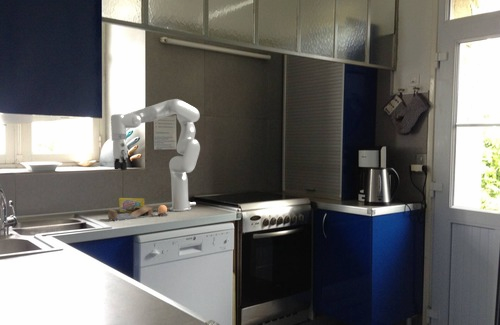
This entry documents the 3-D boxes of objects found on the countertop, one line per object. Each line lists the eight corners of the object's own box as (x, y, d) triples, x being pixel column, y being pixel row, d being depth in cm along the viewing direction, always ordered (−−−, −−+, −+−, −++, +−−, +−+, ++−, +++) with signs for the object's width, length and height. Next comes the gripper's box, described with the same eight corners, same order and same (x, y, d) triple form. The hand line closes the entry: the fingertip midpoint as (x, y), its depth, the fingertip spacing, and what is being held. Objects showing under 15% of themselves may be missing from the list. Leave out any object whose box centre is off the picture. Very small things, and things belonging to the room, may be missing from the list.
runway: (147, 214, 262) (147, 211, 262) (153, 216, 254) (153, 212, 254) (108, 218, 249) (108, 215, 249) (114, 221, 242) (114, 217, 242)
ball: (164, 212, 259) (164, 204, 259) (168, 214, 255) (168, 204, 255) (156, 213, 256) (156, 204, 256) (160, 215, 252) (160, 205, 252)
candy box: (119, 212, 272) (118, 198, 272) (121, 211, 274) (120, 197, 274) (143, 213, 267) (142, 198, 267) (145, 212, 269) (144, 198, 269)
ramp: (146, 214, 262) (146, 205, 261) (153, 216, 254) (153, 206, 254) (108, 218, 249) (108, 209, 249) (114, 221, 242) (113, 211, 241)
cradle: (163, 214, 259) (163, 212, 259) (167, 215, 255) (167, 213, 255) (157, 215, 257) (157, 213, 257) (161, 216, 253) (161, 214, 253)
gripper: (131, 137, 244) (133, 169, 245) (120, 137, 258) (121, 168, 259) (117, 137, 240) (119, 170, 241) (106, 138, 254) (108, 169, 255)
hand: (120, 169), depth 250 cm, fingers open, 9 cm apart
